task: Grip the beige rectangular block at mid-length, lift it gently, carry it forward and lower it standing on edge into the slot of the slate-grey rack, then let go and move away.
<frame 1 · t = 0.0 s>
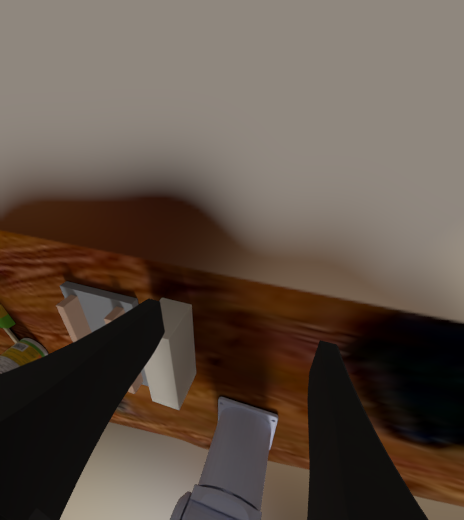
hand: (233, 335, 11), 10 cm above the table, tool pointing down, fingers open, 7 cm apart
popsicle: (3, 311, 41), on the table
rack: (115, 335, 33), on the table
beige rectangular block: (181, 337, 29), on the table
supplement bottle: (37, 346, 42), on the table
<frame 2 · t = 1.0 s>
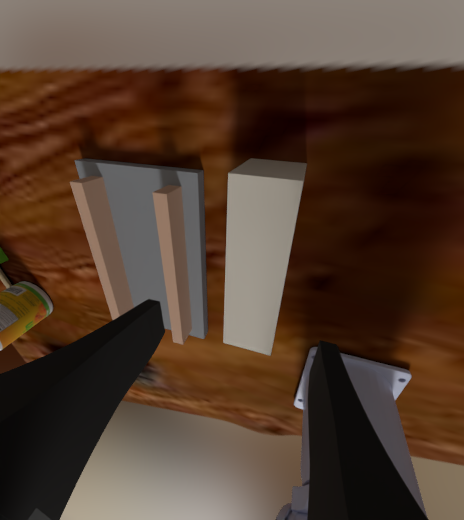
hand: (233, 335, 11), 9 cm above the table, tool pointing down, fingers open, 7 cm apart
rack: (154, 257, 22), on the table
beige rectangular block: (267, 244, 18), on the table
supplement bottle: (38, 296, 32), on the table
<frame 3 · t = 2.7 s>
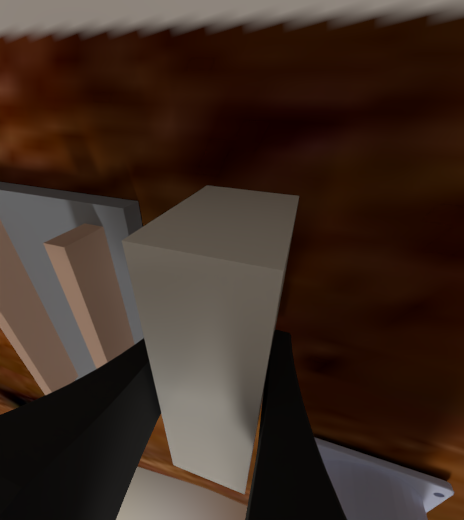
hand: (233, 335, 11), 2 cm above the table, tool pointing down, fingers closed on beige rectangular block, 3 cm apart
rack: (92, 310, 16), on the table
beige rectangular block: (242, 310, 12), on the table, touching gripper
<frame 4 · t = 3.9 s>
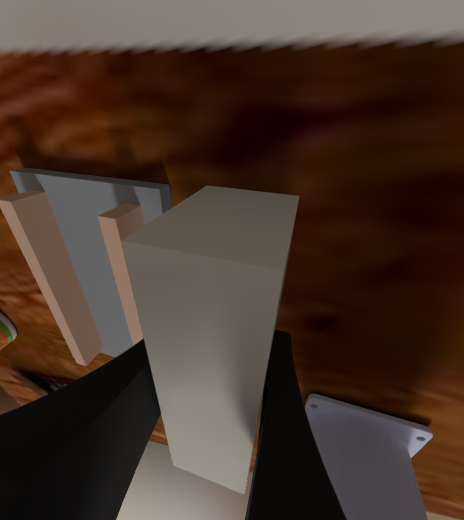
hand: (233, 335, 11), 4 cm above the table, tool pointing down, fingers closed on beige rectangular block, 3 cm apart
rack: (120, 284, 18), on the table
beige rectangular block: (242, 310, 12), point 3 cm above the table, touching gripper
supplement bottle: (0, 319, 28), on the table
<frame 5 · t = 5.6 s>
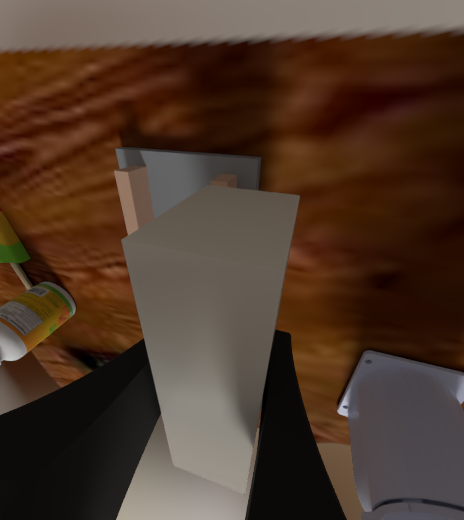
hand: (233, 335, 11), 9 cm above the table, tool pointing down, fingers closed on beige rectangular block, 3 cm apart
popsicle: (12, 242, 28), on the table
rack: (194, 254, 20), on the table
beige rectangular block: (242, 310, 12), point 7 cm above the table, touching gripper
supplement bottle: (60, 297, 30), on the table
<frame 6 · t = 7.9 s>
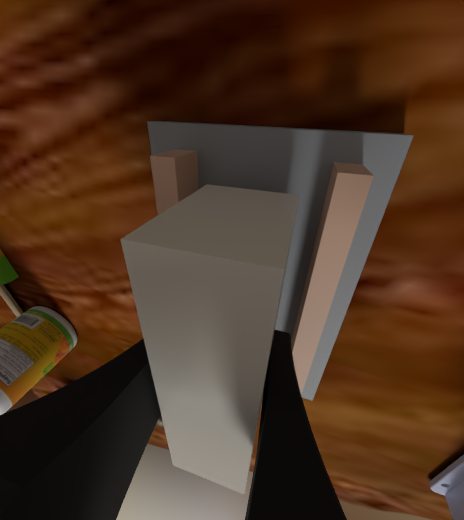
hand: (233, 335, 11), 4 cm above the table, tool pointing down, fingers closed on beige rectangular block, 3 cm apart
rack: (252, 282, 14), on the table
beige rectangular block: (242, 310, 12), point 2 cm above the table, touching gripper
supplement bottle: (57, 324, 24), on the table
when the fingers open (4 cm above the table, at t = 8.5 s): beige rectangular block drops 1 cm, resting on rack.
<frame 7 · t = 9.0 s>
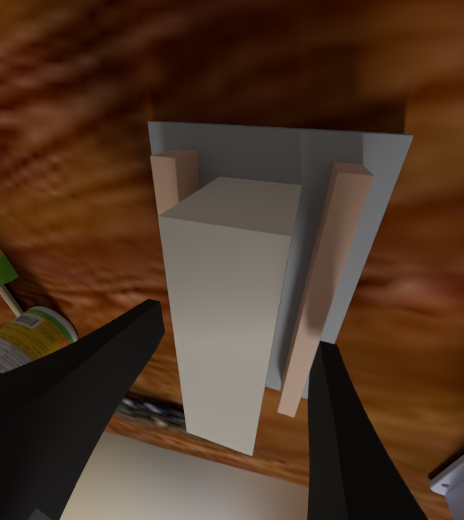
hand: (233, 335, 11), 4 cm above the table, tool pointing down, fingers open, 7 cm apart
rack: (252, 282, 14), on the table
beige rectangular block: (249, 292, 13), point 1 cm above the table, touching rack
supplement bottle: (57, 324, 24), on the table
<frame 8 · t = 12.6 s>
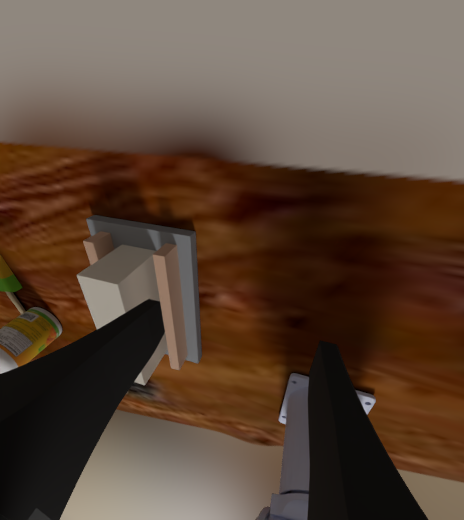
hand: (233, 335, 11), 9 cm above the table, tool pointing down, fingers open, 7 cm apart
popsicle: (6, 272, 33), on the table
rack: (154, 294, 25), on the table
beige rectangular block: (149, 299, 24), point 1 cm above the table, touching rack
supplement bottle: (48, 319, 35), on the table
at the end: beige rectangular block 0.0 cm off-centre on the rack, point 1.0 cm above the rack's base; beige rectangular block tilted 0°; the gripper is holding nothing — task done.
